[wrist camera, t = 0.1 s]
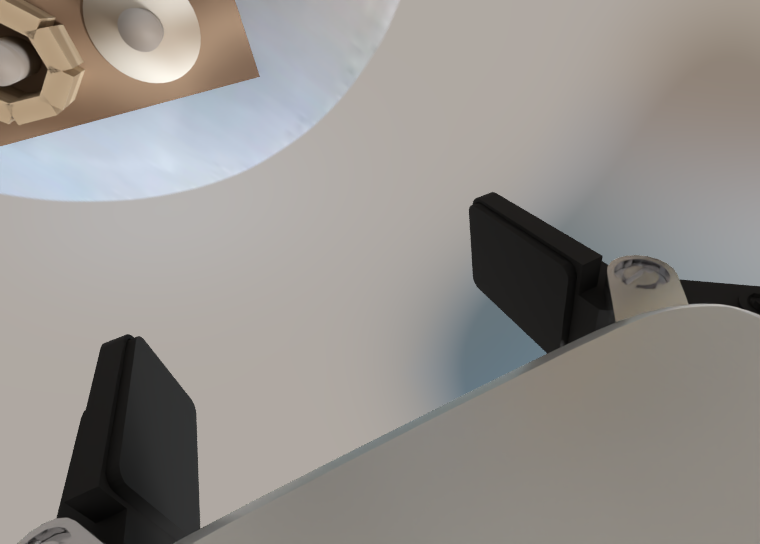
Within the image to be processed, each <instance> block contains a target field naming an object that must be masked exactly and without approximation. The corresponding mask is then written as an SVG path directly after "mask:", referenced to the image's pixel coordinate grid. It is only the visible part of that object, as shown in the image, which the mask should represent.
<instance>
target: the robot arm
mask: <svg viewBox="0 0 760 544" xmlns="http://www.w3.org/2000/svg"><path fill="white" fill-rule="evenodd" d="M469 219H470V233H471V234H470V235H471V251H472V267H473V279H474V282H475V284H476V286H477V287H478V288H479V289H480V290H481V291H482V292H483V293H484V294H485V295H486V296H487V297H488V298H490V300H492V301H493V302H494V303H495V304H496V305H497V306H498V307H499V308H500V309H501V310H502V311H503V312H504V313H505V314H506V315H507V316H508V317H509V318H511V319H512V320H513V321H514V322H515V323H516V324H517V325H518V326H519V327H520V328H521V329H522V330H523V331H524V332H525V333H526V334H527V335H528V336H530V337H531V338H532V339H533V340H534V341H535V342H536V343H537V344H538V345H539V346H540V347H541V348H542V349H543V350H544V351H546V353H548V354H546V355H544V356H542V357H540V358H538V359H536V360H534V361H532V362H529V363H528V364H525V365H524V366H521V367H519V368H517V369H515V370H513V371H511V372H509V373H507V374H505V375H503V376H501V377H499V378H497V379H495V380H493V381H491V382H489V383H487V384H485V385H483V386H481V387H479V388H477V389H475V390H473V391H471V392H469V393H467V394H465V395H463V396H461V397H459V398H457V399H455V400H453V401H451V402H449V403H447V404H445V405H443V406H441V407H439V408H437V409H435V410H433V411H431V412H429V413H427V414H425V415H423V416H421V417H419V418H417V419H415V420H413V421H411V422H409V423H407V424H405V425H403V426H401V427H399V428H397V429H395V430H393V431H391V432H389V433H387V434H385V435H383V436H381V437H379V438H377V439H375V440H373V441H371V442H369V443H367V444H365V445H363V446H361V447H359V448H357V449H355V450H353V451H351V452H349V453H347V454H345V455H343V456H341V457H339V458H337V459H335V460H334V461H331V462H329V463H327V464H325V465H323V466H321V467H319V468H317V469H315V470H313V471H312V472H309V473H308V474H306V475H304V476H302V477H300V478H298V479H296V480H294V481H292V482H290V483H288V484H286V485H284V486H282V487H280V488H278V489H276V490H274V491H272V492H270V493H268V494H266V495H264V496H262V497H260V498H258V499H256V500H254V501H252V502H251V503H249V504H247V505H245V506H243V507H241V508H239V509H237V510H235V511H233V512H231V513H230V514H228V515H226V516H224V517H222V518H220V519H218V520H216V521H214V522H212V523H211V524H209V525H207V526H205V527H203V528H201V529H200V510H199V482H198V453H197V425H196V410H195V406H194V403H193V402H192V400H191V398H190V397H189V396H188V395H187V393H186V392H185V391H184V390H183V389H182V387H181V386H180V385H179V383H178V382H177V381H176V379H175V378H174V377H173V376H172V374H171V373H170V372H169V371H168V369H167V368H166V367H165V366H164V364H163V363H162V362H161V361H160V359H159V358H158V357H157V355H156V354H155V353H154V352H153V351H152V349H151V348H150V347H149V345H148V344H147V343H146V342H145V340H144V339H143V338H142V337H140V336H138V337H135V338H134V337H133V336H131V335H128V334H127V335H124V336H122V337H119V338H117V339H114V340H111V341H109V342H106V343H104V344H102V346H101V349H100V353H99V357H98V362H97V366H96V370H95V374H94V378H93V382H92V386H91V390H90V395H89V399H88V403H87V407H86V410H85V411H84V413H83V415H82V417H81V421H80V425H79V429H78V433H77V437H76V441H75V445H74V450H73V454H72V458H71V462H70V466H69V470H68V474H67V478H66V482H65V486H64V490H63V494H62V498H61V502H60V506H59V510H58V515H57V518H56V519H54V520H51V521H49V522H46V523H44V524H42V525H40V526H39V527H37V528H36V529H34V530H33V531H31V532H30V533H28V534H27V535H26V536H25V537H24V538H23V539H22V540H21V541H19V542H18V543H17V544H760V286H748V285H736V284H724V283H713V282H701V281H690V280H679V278H678V275H677V273H676V272H675V270H674V269H673V268H672V267H671V266H669V265H668V264H667V263H665V262H663V261H661V260H658V259H655V258H651V257H648V256H639V255H632V256H624V257H620V258H617V259H615V260H613V261H612V262H611V263H610V264H609V265H607V264H606V263H604V262H602V255H600V254H598V253H596V252H595V251H593V250H591V249H590V248H588V247H586V246H584V245H583V244H581V243H580V242H578V241H576V240H575V239H573V238H571V237H569V236H568V235H566V234H564V233H563V232H561V231H559V230H557V229H556V228H554V227H552V226H551V225H549V224H547V223H546V222H544V221H542V220H541V219H539V218H537V217H536V216H534V215H532V214H530V213H529V212H527V211H525V210H524V209H522V208H520V207H519V206H517V205H515V204H513V203H512V202H510V201H508V200H507V199H505V198H503V197H502V196H500V195H498V194H497V193H494V192H492V193H489V194H486V195H484V196H481V197H478V198H476V199H475V200H474V201H473V205H472V206H470V208H469Z"/></svg>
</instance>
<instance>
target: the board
mask: <svg viewBox="0 0 760 544" xmlns="http://www.w3.org/2000/svg"><path fill="white" fill-rule="evenodd" d="M256 77H260V76H259V73H258V70H257V67H256V64H255V61H254V57H253V54H252V51H251V48H250V45H249V42H248V39H247V36H246V33H245V30H244V27H243V24H242V21H241V18H240V15H239V12H238V9H237V6H236V3H235V0H0V146H3V145H7V144H10V143H14V142H18V141H22V140H25V139H29V138H33V137H36V136H40V135H44V134H48V133H51V132H55V131H59V130H63V129H66V128H70V127H74V126H78V125H81V124H85V123H89V122H92V121H96V120H100V119H104V118H107V117H111V116H115V115H119V114H122V113H126V112H130V111H133V110H137V109H141V108H145V107H148V106H152V105H156V104H160V103H163V102H167V101H171V100H174V99H178V98H182V97H186V96H189V95H193V94H197V93H201V92H204V91H208V90H212V89H215V88H219V87H223V86H227V85H230V84H234V83H238V82H242V81H245V80H249V79H253V78H256Z"/></svg>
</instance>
